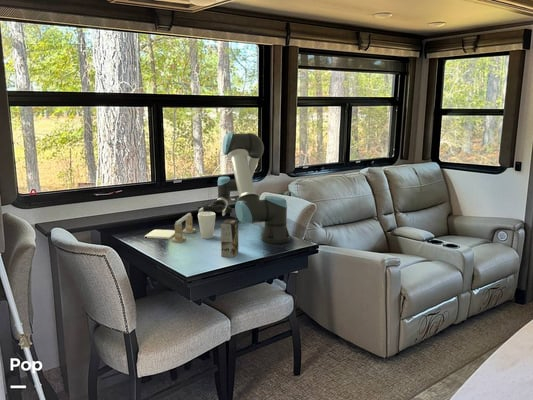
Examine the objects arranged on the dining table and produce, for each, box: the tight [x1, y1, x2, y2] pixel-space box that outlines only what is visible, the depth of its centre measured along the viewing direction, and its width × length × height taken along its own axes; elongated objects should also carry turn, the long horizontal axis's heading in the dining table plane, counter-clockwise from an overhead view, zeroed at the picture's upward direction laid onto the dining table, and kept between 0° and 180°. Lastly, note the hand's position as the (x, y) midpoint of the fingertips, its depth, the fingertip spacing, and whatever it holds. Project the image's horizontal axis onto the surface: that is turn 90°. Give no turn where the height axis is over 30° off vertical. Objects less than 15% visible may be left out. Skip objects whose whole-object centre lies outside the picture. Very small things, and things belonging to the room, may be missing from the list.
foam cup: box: [197, 211, 216, 240], centre depth 248 cm, size 10×9×13 cm
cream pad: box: [144, 229, 175, 240], centre depth 253 cm, size 14×14×1 cm
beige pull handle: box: [171, 215, 196, 243], centre depth 250 cm, size 23×6×9 cm, turn 172°
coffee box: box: [220, 219, 239, 258], centre depth 218 cm, size 9×6×16 cm
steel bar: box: [174, 212, 192, 225], centre depth 249 cm, size 22×2×2 cm, turn 172°
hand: (211, 213), depth 257 cm, fingers open, 13 cm apart
